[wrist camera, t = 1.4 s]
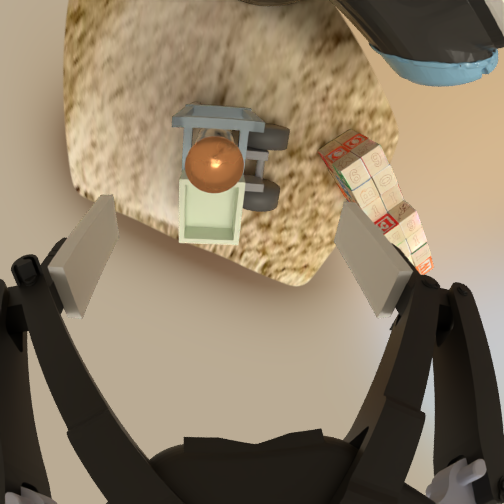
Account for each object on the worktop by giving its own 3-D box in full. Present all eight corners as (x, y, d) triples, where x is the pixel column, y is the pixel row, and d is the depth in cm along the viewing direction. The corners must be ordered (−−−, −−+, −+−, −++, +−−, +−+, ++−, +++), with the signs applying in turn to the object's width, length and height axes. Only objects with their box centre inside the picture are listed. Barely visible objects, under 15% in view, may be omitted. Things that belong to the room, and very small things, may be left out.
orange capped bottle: (199, 113, 34) (186, 136, 20) (234, 115, 35) (247, 139, 21) (197, 146, 36) (184, 192, 23) (231, 148, 37) (240, 194, 23)
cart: (191, 100, 33) (171, 115, 19) (286, 109, 35) (335, 132, 21) (185, 204, 41) (171, 279, 27) (270, 209, 43) (299, 283, 29)
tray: (182, 169, 31) (179, 179, 28) (242, 172, 32) (245, 182, 29) (181, 228, 35) (179, 242, 32) (236, 230, 36) (238, 245, 33)
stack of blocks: (315, 150, 39) (350, 179, 28) (349, 128, 37) (394, 149, 27) (371, 247, 49) (403, 291, 39) (398, 228, 48) (435, 268, 38)
